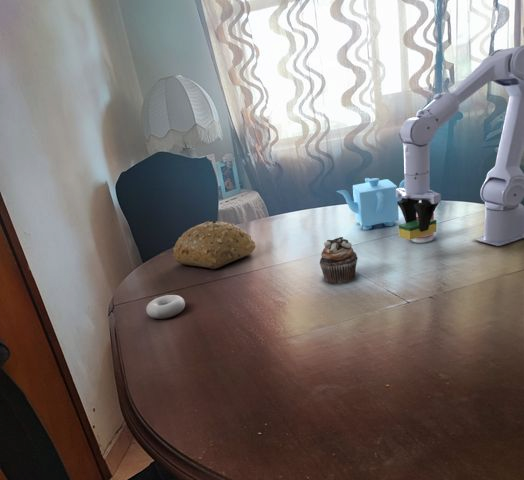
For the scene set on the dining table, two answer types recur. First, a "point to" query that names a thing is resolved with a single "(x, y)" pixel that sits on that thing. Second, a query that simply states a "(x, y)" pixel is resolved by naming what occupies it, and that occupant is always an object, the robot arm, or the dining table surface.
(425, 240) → the pill bottle
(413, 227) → the sponge
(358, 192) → the teakettle
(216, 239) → the bread
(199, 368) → the dining table surface
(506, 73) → the robot arm
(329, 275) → the cupcake
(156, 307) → the donut
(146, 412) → the dining table surface
